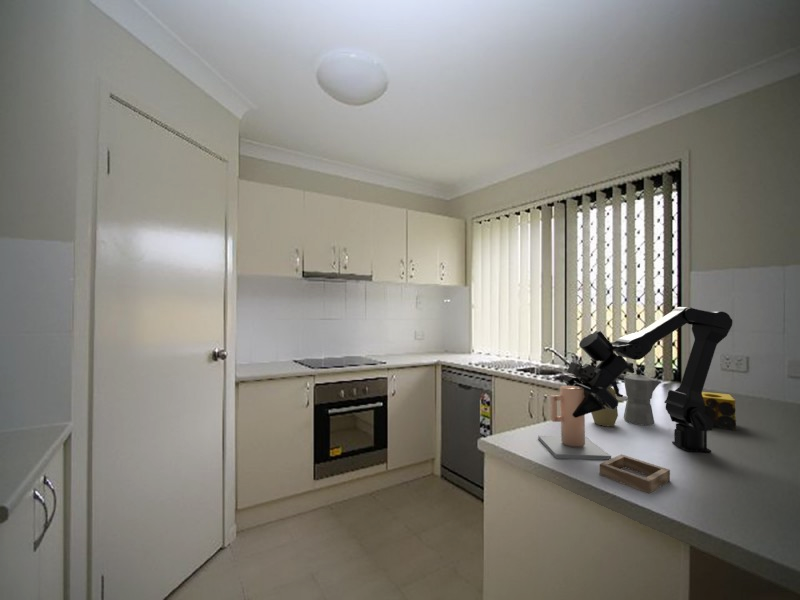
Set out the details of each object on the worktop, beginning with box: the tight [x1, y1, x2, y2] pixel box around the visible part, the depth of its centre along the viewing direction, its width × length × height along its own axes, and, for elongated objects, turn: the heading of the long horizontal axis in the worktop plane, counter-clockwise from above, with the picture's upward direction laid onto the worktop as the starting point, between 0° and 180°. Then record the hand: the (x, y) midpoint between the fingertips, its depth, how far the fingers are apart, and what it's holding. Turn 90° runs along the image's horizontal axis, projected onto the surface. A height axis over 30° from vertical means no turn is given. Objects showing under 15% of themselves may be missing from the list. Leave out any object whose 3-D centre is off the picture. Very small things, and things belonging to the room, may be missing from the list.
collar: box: [598, 454, 671, 494], centre depth 85 cm, size 10×10×2 cm
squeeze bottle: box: [590, 386, 619, 427], centre depth 125 cm, size 8×8×18 cm
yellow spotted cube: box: [702, 391, 737, 431], centre depth 126 cm, size 10×10×10 cm
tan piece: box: [550, 385, 586, 446], centre depth 102 cm, size 9×6×15 cm
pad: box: [537, 435, 612, 460], centre depth 102 cm, size 14×14×1 cm
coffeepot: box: [612, 368, 663, 426], centre depth 129 cm, size 15×9×18 cm, turn 44°
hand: (567, 413), depth 103 cm, fingers closed on tan piece, 6 cm apart
